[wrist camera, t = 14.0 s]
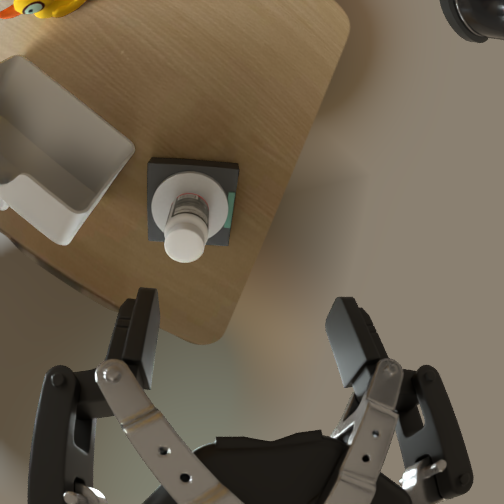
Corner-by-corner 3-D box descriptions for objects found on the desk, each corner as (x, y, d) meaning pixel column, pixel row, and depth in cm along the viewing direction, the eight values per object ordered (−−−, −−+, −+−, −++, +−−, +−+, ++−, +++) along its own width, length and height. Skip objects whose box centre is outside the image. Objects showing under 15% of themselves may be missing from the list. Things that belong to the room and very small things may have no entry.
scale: (238, 163, 35) (239, 171, 32) (227, 236, 41) (228, 249, 38) (151, 157, 33) (146, 165, 30) (151, 231, 39) (147, 244, 36)
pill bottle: (192, 232, 36) (188, 274, 29) (163, 211, 34) (151, 249, 27) (217, 206, 34) (218, 245, 28) (187, 183, 32) (179, 217, 25)
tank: (-22, 143, 25) (-72, 175, 15) (19, 52, 19) (-41, 60, 9) (81, 230, 37) (47, 285, 27) (139, 147, 32) (104, 184, 22)
